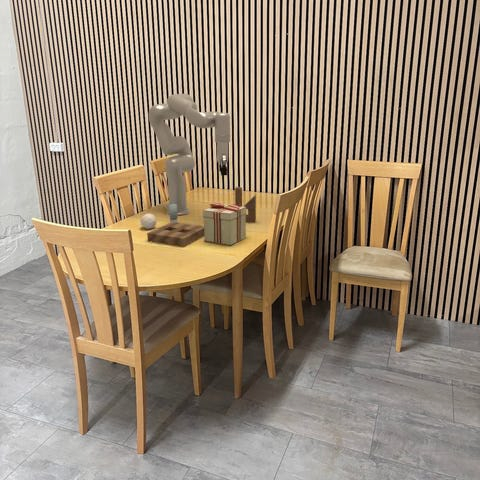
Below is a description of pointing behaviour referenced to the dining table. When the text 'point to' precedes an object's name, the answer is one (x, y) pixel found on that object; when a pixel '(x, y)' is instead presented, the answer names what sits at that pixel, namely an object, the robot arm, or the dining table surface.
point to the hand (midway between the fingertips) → (223, 173)
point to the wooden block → (246, 205)
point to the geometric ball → (148, 221)
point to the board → (176, 234)
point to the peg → (173, 213)
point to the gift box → (224, 223)
